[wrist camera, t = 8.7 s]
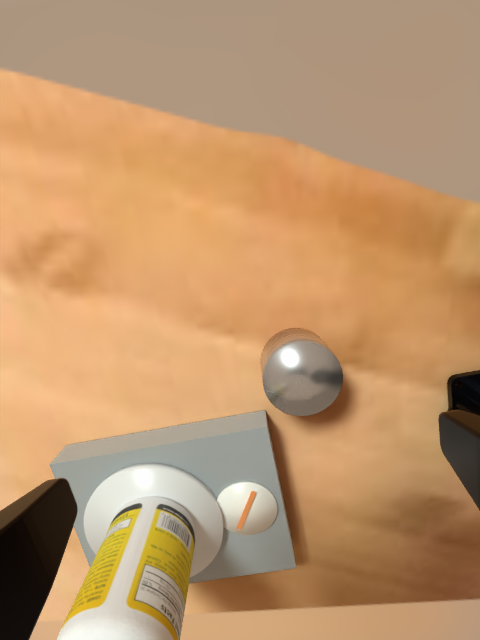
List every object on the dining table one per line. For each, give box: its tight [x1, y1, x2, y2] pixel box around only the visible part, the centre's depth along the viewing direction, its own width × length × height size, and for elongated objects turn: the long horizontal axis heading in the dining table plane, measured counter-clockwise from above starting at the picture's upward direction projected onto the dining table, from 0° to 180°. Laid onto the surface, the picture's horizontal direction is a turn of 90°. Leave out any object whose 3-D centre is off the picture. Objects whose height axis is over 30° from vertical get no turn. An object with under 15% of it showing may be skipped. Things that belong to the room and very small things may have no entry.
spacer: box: [261, 328, 343, 416], centre depth 20 cm, size 4×4×3 cm
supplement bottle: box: [57, 496, 196, 640], centre depth 16 cm, size 5×5×10 cm
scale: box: [50, 410, 296, 583], centre depth 22 cm, size 14×11×3 cm
